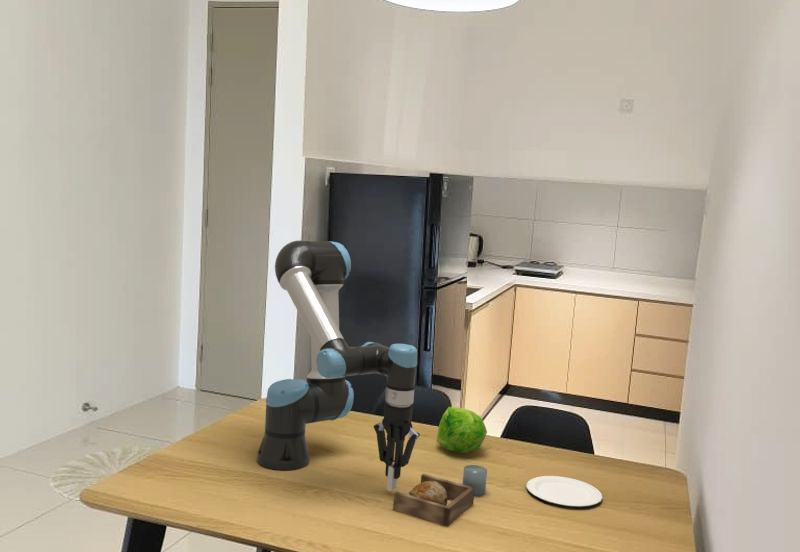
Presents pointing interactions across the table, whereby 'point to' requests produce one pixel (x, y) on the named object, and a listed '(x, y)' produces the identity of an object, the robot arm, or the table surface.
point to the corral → (432, 510)
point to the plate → (564, 491)
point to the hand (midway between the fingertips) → (391, 488)
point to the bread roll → (430, 492)
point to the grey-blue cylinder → (475, 479)
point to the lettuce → (461, 430)
